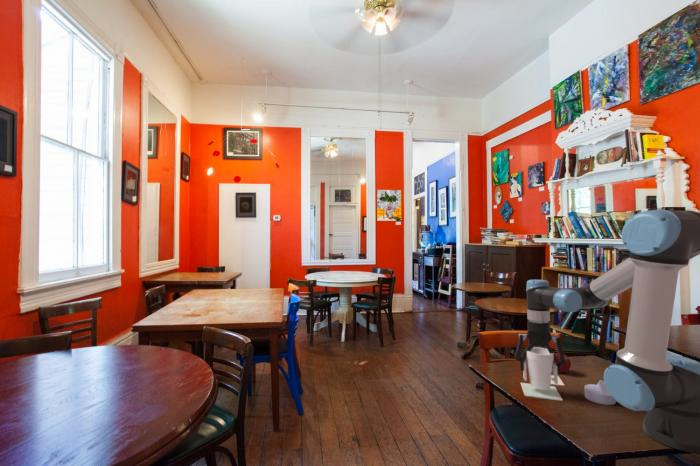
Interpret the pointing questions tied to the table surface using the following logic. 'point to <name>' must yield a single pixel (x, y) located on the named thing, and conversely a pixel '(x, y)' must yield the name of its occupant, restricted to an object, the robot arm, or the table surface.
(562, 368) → the apple
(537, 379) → the foam cup
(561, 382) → the cream card
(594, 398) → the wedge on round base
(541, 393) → the sage mat
